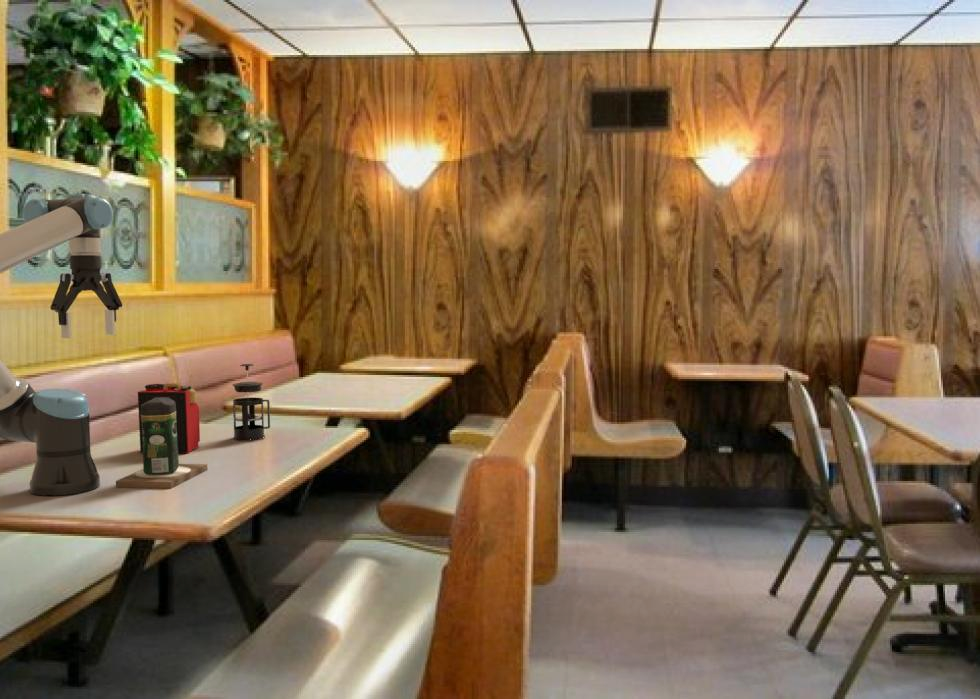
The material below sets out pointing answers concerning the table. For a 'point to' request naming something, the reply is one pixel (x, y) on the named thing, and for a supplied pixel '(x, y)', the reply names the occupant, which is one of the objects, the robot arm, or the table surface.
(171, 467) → the coffee jar
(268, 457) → the table surface
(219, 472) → the table surface
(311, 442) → the table surface
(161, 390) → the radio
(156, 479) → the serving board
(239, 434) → the french press
